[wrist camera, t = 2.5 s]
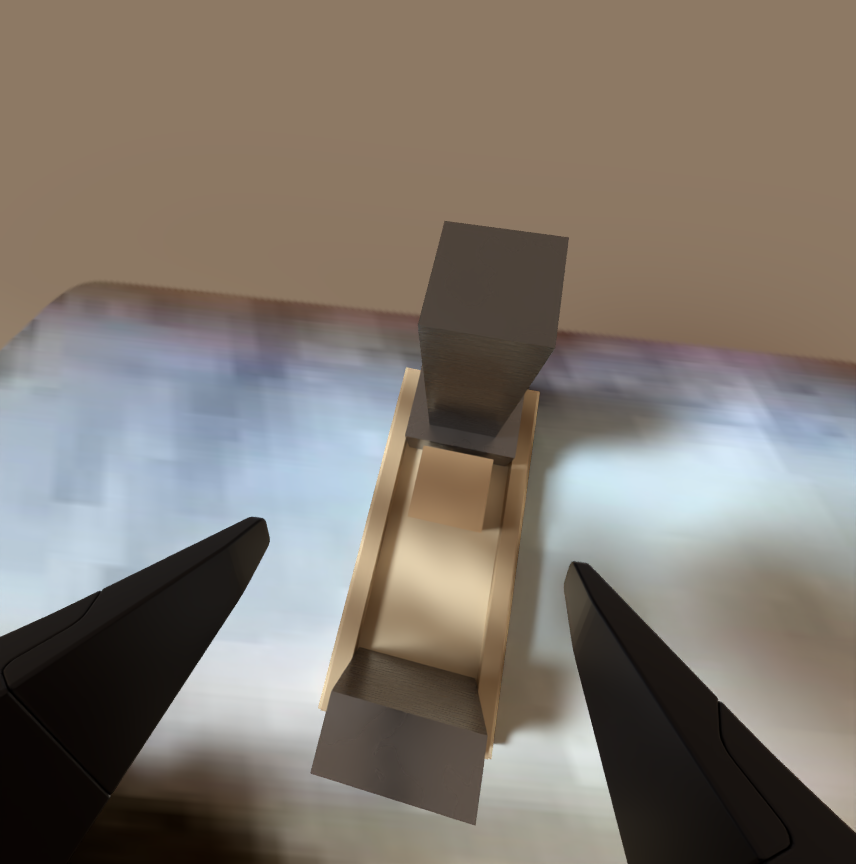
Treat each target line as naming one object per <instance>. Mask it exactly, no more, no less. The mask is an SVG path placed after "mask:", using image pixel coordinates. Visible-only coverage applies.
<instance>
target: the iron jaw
mask: <svg viewBox="0 0 856 864" xmlns="http://www.w3.org/2000/svg"><path fill="white" fill-rule="evenodd" d="M487 737H488V735H487V730H486V726H485V721H484V717H483V712H482V707H481V703H480V698H479V694H478V689H477V684H476V680H475V678H472V677H469V676H465V675H461V674H458V673H454V672H450V671H447V670H443V669H439V668H436V667H432V666H428V665H425V664H421V663H417V662H414V661H410V660H406V659H403V658H399V657H395V656H391V655H388V654H384V653H380V652H377V651H373V650H369V649H366V648H362V647H359V648H358V650H357V651H356V653H355V655H354V656H353V658H352V659H351V661H350V662H349V664H348V666H347V667H346V669H345V670H344V672H343V673H342V675H341V677H340V678H339V680H338V681H337V683H336V684H335V686H334V687H333V689H332V691H331V694H330V698H329V702H328V706H327V710H326V714H325V718H324V722H323V726H322V730H321V734H320V738H319V742H318V746H317V750H316V754H315V757H314V761H313V765H312V769H311V774H314V775H317V776H321V777H324V778H327V779H330V780H333V781H336V782H340V783H343V784H346V785H349V786H352V787H355V788H358V789H362V790H365V791H368V792H371V793H374V794H377V795H381V796H384V797H387V798H390V799H393V800H396V801H400V802H403V803H406V804H409V805H412V806H415V807H419V808H422V809H425V810H428V811H431V812H434V813H438V814H441V815H444V816H447V817H450V818H453V819H456V820H460V821H463V822H466V823H469V824H472V825H476V818H477V810H478V803H479V796H480V788H481V781H482V774H483V767H484V759H485V752H486V745H487Z"/></svg>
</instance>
